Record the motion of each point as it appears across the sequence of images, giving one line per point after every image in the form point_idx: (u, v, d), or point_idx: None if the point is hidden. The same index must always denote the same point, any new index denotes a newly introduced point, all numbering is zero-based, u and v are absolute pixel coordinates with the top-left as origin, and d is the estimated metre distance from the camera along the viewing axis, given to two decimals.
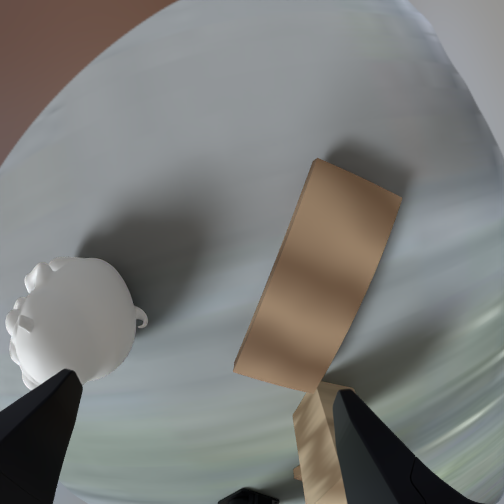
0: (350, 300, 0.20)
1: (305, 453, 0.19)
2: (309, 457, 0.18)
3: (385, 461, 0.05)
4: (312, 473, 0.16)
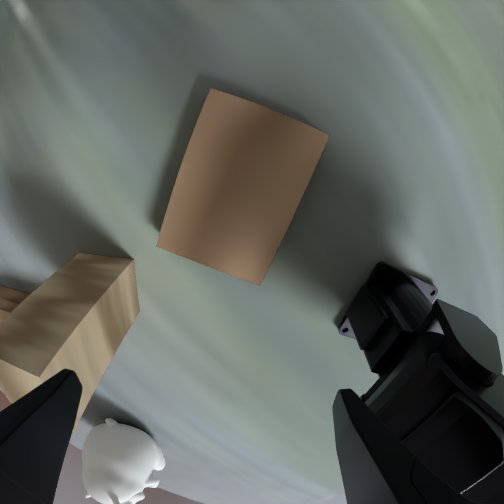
0: None
1: None
2: None
3: (385, 461, 0.05)
4: None
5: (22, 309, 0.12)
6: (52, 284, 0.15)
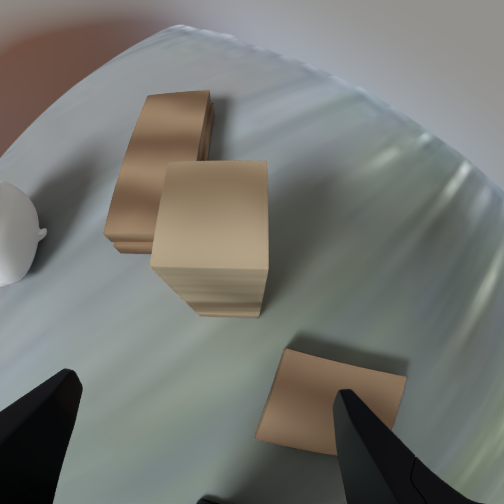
0: (188, 145, 0.24)
1: None
2: None
3: (385, 461, 0.05)
4: None
5: None
6: None
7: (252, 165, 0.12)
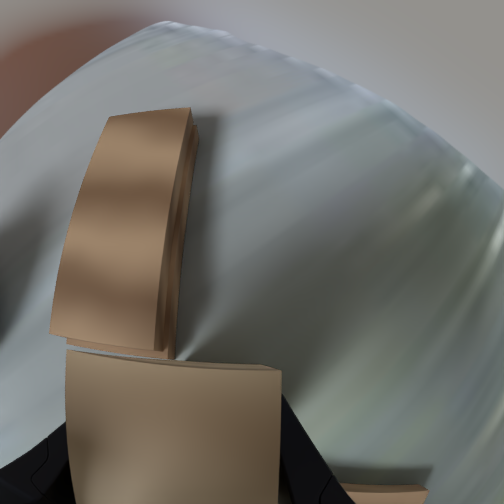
0: (156, 200, 0.16)
1: None
2: None
3: (295, 475, 0.05)
4: None
5: None
6: None
7: (245, 386, 0.05)
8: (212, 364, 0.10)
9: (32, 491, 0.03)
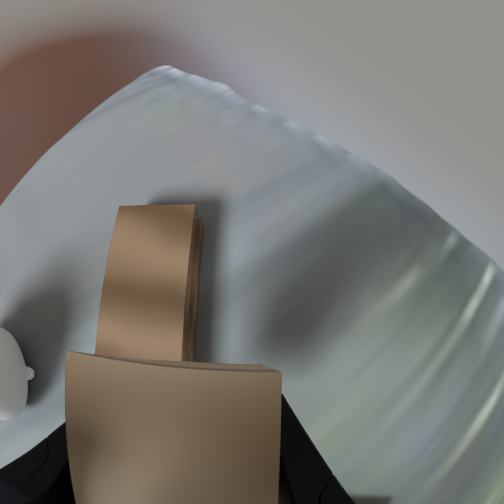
0: (172, 305, 0.20)
1: None
2: None
3: (295, 475, 0.05)
4: None
5: None
6: None
7: (245, 387, 0.05)
8: None
9: (33, 491, 0.03)
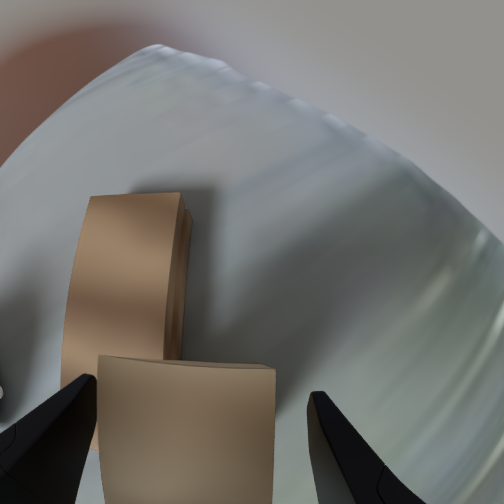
0: (149, 322, 0.15)
1: None
2: None
3: (351, 468, 0.05)
4: None
5: None
6: None
7: (247, 381, 0.06)
8: None
9: None
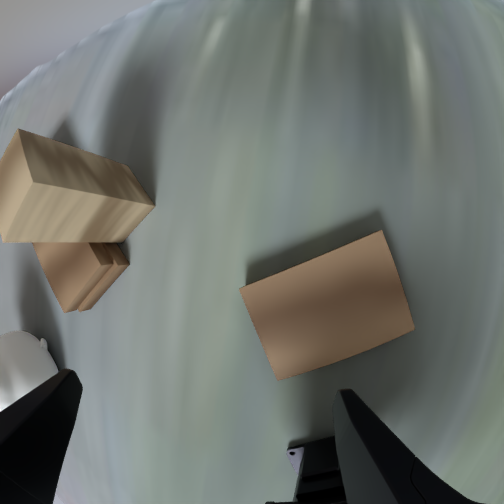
0: None
1: None
2: None
3: (385, 461, 0.05)
4: None
5: (63, 147, 0.15)
6: (94, 159, 0.18)
7: (13, 139, 0.11)
8: None
9: None
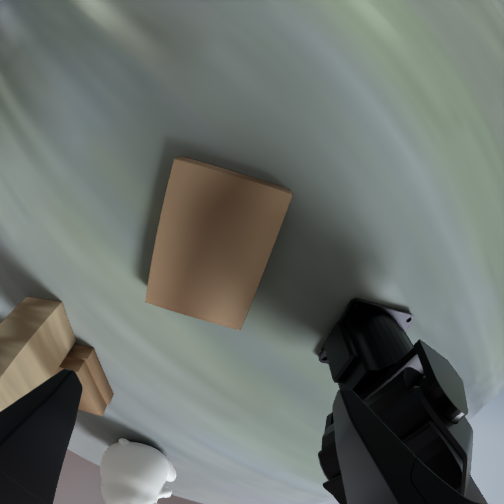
0: None
1: None
2: None
3: (385, 461, 0.05)
4: None
5: None
6: (4, 326, 0.17)
7: None
8: None
9: None
